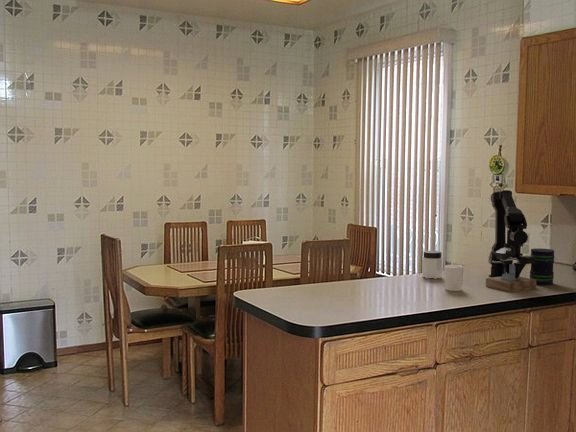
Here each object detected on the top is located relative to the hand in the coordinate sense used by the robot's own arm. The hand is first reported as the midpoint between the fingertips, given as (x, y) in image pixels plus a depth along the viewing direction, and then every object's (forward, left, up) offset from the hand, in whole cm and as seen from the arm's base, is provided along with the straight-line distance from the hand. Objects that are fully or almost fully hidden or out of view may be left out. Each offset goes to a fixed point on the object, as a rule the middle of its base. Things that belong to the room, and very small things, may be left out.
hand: (512, 277), depth 269 cm
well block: (+1, 0, -4) cm, 4 cm away
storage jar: (-18, 0, -4) cm, 19 cm away
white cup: (+26, -8, -4) cm, 28 cm away
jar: (+15, -34, -4) cm, 37 cm away
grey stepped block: (+1, 0, -2) cm, 2 cm away
